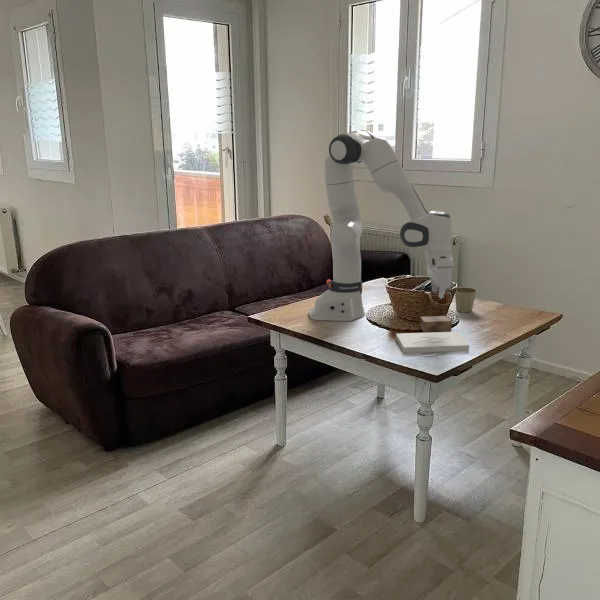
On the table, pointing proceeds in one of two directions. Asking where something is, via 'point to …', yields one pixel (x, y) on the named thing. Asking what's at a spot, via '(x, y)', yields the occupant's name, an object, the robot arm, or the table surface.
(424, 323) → the block
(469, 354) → the table surface
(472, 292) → the flower pot
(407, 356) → the table surface
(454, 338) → the marked board
